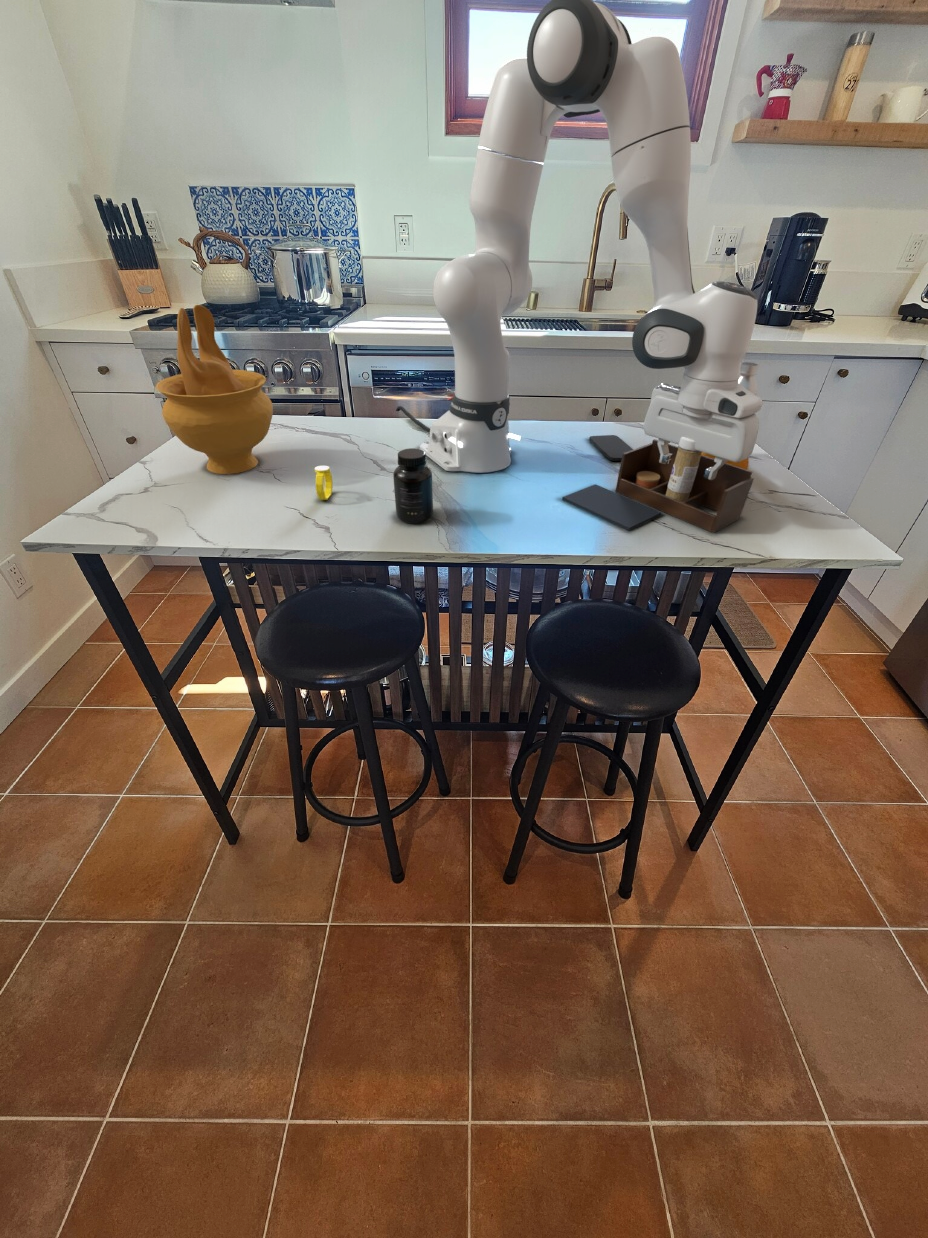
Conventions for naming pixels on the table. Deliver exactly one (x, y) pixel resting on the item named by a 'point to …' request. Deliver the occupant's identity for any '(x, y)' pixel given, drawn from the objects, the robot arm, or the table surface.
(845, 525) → the table surface
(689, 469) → the sprinkles bottle
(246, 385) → the decorative bowl
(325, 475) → the watch
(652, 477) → the spice tin
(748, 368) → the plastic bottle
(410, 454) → the supplement bottle
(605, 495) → the rubber mat
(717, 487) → the spice rack
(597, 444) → the phone
